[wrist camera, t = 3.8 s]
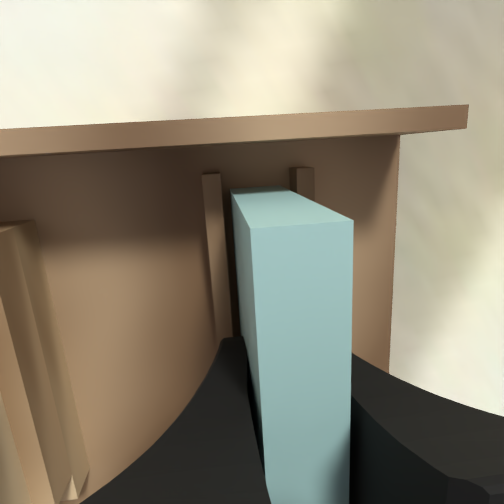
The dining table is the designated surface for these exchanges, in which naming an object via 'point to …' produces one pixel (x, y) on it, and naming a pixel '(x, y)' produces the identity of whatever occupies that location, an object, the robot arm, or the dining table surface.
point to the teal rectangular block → (296, 339)
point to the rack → (160, 270)
